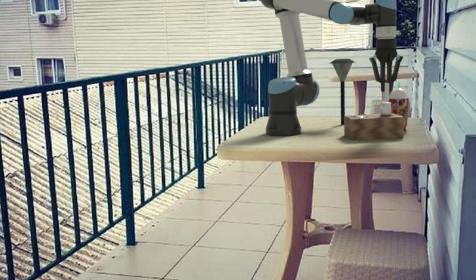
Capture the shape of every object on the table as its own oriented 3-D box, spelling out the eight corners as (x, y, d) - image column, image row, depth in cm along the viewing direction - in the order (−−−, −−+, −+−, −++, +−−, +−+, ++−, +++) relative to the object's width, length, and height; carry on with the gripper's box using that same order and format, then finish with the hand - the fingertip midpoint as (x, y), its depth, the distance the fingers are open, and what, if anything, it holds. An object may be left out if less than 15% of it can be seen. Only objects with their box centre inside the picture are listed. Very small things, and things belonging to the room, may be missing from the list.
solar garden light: (357, 126, 238) (356, 58, 233) (329, 126, 239) (328, 59, 235) (355, 122, 249) (355, 58, 245) (329, 123, 251) (328, 59, 247)
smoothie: (409, 131, 218) (410, 82, 214) (388, 131, 219) (389, 82, 216) (407, 128, 226) (408, 81, 222) (387, 128, 227) (387, 81, 224)
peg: (382, 123, 205) (382, 103, 204) (379, 122, 209) (379, 102, 208) (392, 122, 206) (392, 103, 204) (389, 121, 209) (389, 102, 208)
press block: (352, 140, 202) (351, 119, 200) (344, 135, 214) (344, 115, 212) (403, 137, 203) (403, 116, 201) (393, 133, 214) (393, 113, 213)
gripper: (372, 38, 198) (372, 101, 202) (406, 37, 199) (405, 100, 203) (366, 39, 206) (366, 100, 209) (399, 38, 206) (399, 98, 210)
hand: (386, 99), depth 206 cm, fingers closed
